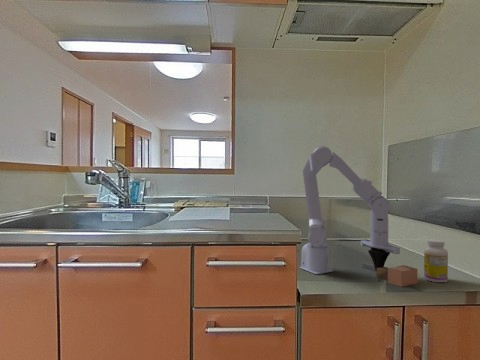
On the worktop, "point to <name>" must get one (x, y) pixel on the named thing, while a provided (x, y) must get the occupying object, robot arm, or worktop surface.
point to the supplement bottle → (436, 261)
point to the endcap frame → (398, 274)
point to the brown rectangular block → (382, 273)
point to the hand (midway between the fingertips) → (379, 271)
